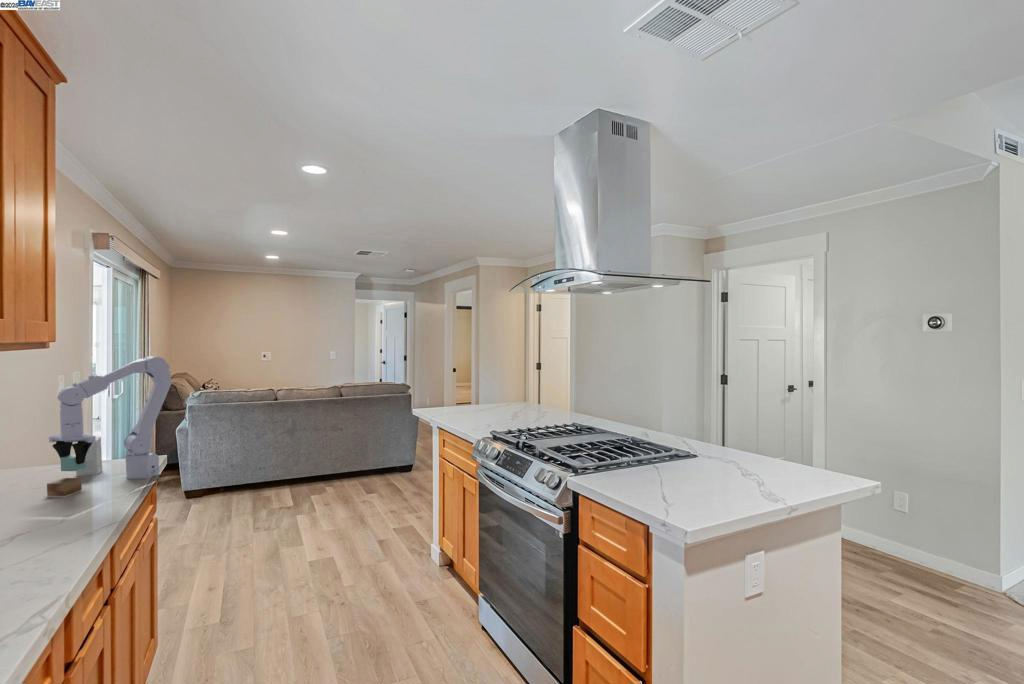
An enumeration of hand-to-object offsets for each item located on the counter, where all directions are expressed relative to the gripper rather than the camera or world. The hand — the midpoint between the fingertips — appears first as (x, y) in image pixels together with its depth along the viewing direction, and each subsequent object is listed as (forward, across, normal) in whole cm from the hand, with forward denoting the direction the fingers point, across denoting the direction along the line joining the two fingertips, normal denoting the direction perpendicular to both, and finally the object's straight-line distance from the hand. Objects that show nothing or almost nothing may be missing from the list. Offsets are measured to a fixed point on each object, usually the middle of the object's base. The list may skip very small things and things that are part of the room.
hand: (73, 463), depth 174 cm
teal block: (+2, 0, 0) cm, 2 cm away
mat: (+9, +2, -5) cm, 10 cm away
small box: (+9, -11, +18) cm, 23 cm away
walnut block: (+8, +2, -5) cm, 10 cm away
